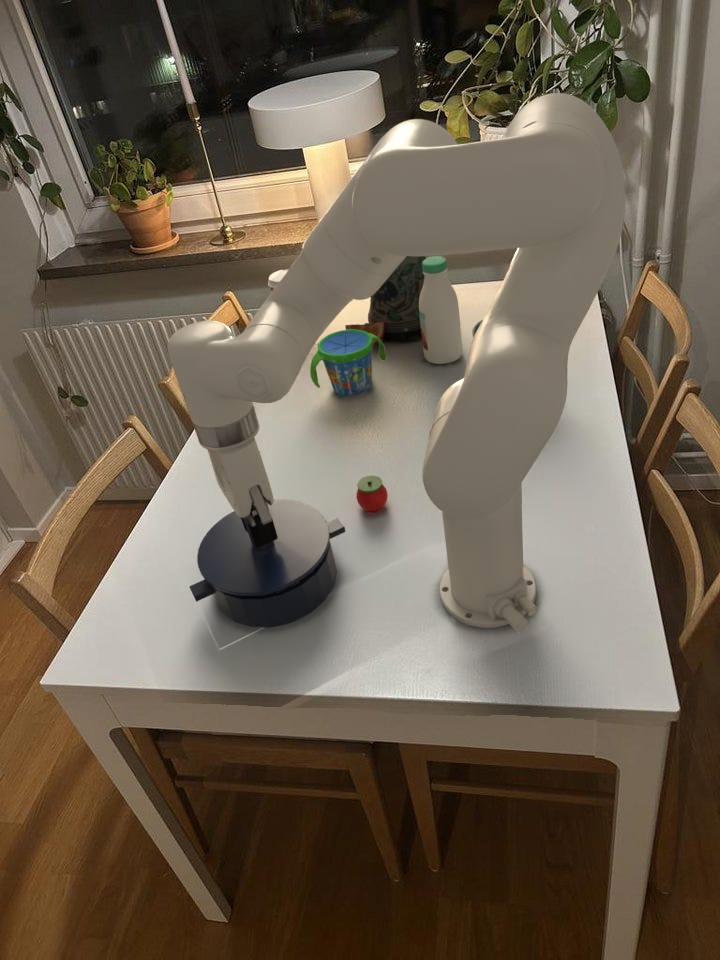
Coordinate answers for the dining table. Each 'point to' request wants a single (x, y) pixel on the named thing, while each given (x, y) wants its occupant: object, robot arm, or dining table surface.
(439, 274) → the milk bottle
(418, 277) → the beer stein
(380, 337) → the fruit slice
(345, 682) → the dining table surface
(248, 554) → the lid
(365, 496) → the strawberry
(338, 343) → the snack cup
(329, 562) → the pot
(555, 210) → the robot arm
